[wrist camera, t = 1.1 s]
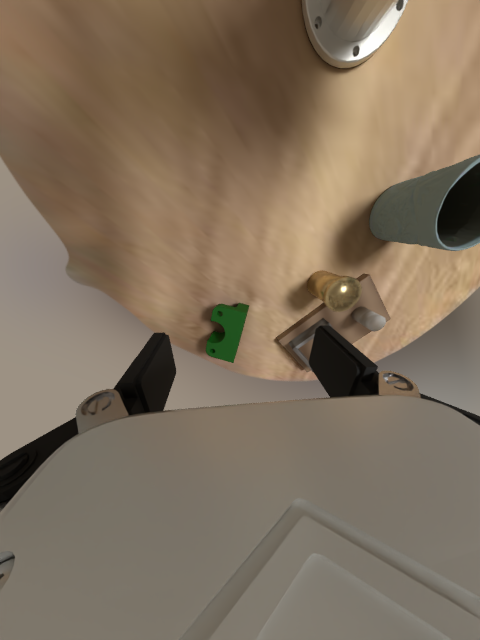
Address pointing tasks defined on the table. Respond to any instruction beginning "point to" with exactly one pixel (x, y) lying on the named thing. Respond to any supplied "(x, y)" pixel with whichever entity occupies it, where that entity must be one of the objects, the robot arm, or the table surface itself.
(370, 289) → the fitting board
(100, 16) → the table surface
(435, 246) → the grey-green cup
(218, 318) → the clamp
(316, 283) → the brass door knob
